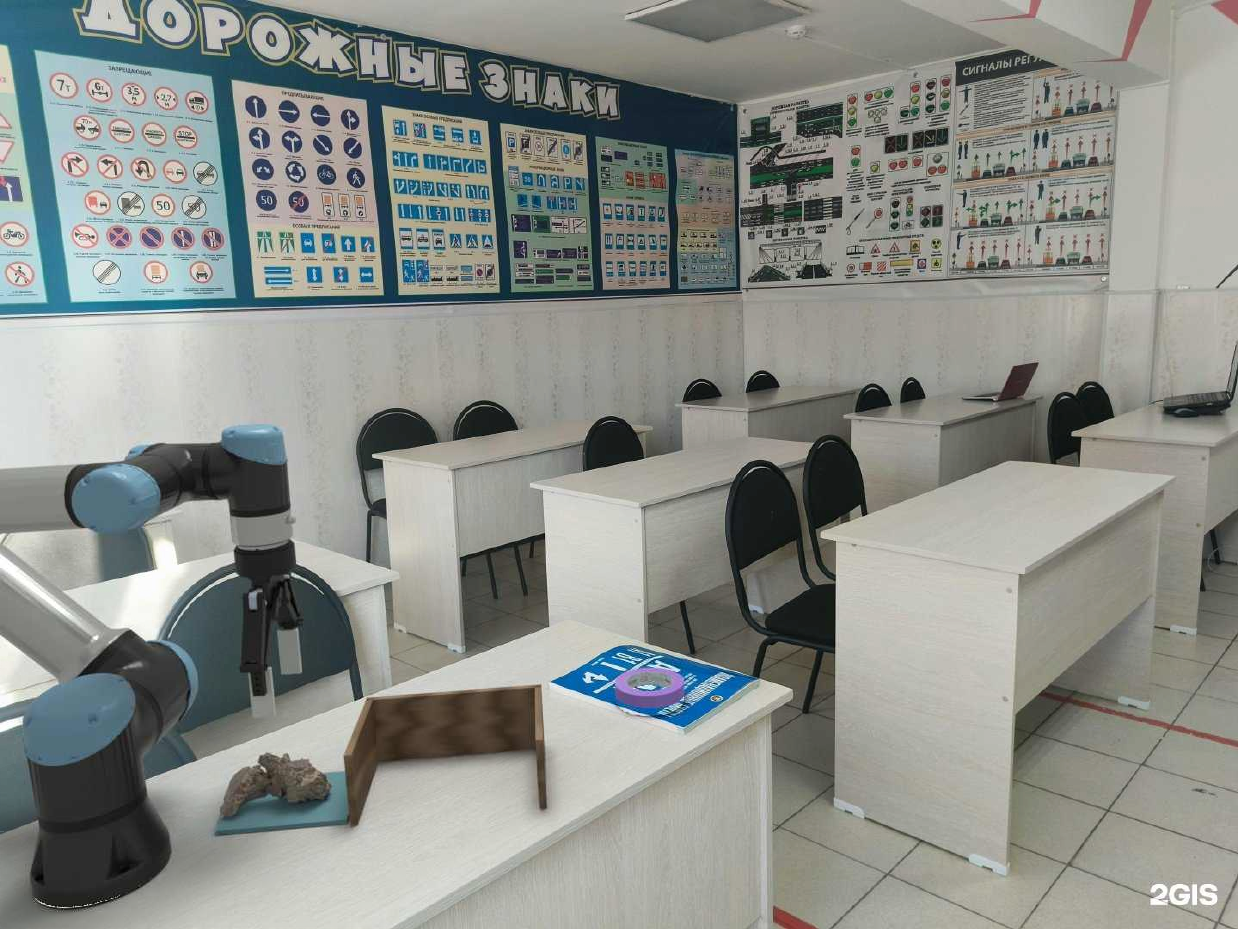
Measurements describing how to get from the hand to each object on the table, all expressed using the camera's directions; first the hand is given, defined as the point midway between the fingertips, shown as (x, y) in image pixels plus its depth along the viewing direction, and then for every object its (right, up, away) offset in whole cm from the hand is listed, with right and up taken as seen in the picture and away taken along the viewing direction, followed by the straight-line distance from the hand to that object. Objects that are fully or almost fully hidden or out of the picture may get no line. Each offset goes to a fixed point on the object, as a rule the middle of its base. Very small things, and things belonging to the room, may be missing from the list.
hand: (278, 693), depth 123 cm
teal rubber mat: (+1, -16, +3) cm, 16 cm away
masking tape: (+52, -9, +30) cm, 60 cm away
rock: (-1, -16, +2) cm, 16 cm away
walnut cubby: (+23, -14, +7) cm, 28 cm away
